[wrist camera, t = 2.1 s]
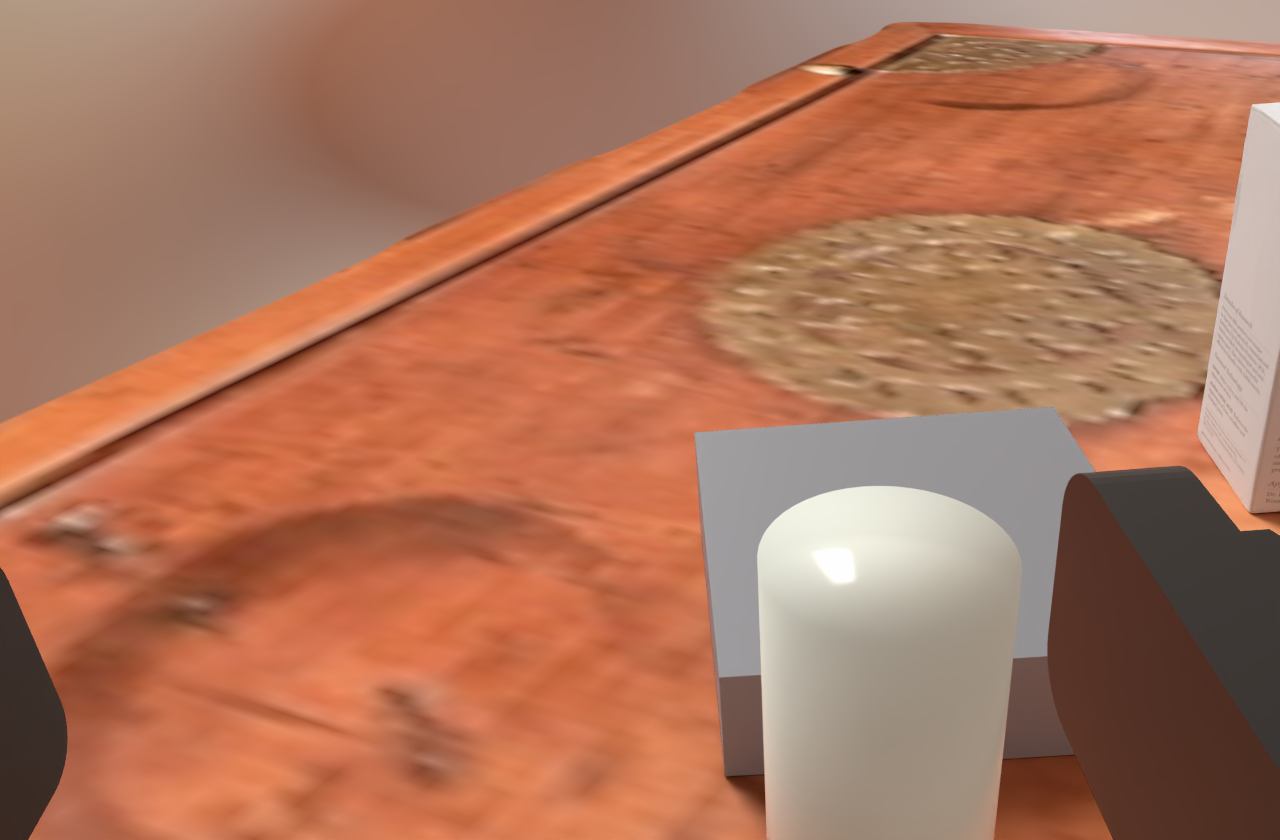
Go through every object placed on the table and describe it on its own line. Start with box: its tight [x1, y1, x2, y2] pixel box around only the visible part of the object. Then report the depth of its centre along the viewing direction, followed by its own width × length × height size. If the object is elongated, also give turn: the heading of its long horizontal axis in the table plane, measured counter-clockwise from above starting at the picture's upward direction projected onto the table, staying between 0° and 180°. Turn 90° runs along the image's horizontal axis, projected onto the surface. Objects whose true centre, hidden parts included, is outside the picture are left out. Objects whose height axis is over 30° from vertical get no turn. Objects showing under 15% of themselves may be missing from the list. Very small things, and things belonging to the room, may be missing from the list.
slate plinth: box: [695, 407, 1096, 776], centre depth 40 cm, size 14×14×4 cm
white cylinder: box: [757, 486, 1022, 840], centre depth 25 cm, size 5×5×14 cm
